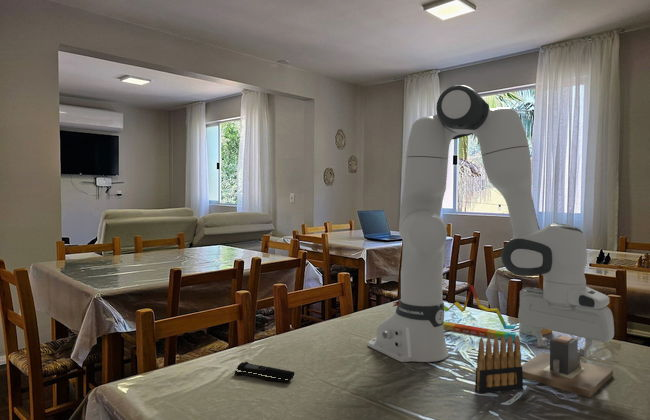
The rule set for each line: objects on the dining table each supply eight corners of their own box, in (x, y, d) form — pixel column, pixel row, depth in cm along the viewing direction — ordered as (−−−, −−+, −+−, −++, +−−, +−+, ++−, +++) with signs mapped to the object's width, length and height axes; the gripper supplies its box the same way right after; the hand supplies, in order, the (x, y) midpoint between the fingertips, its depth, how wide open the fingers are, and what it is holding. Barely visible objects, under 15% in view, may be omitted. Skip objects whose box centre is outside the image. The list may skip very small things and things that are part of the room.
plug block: (549, 370, 104) (550, 339, 104) (559, 363, 108) (559, 334, 108) (568, 375, 101) (568, 343, 101) (577, 367, 105) (577, 338, 105)
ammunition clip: (518, 385, 100) (518, 333, 99) (523, 389, 98) (523, 335, 98) (474, 390, 98) (475, 336, 97) (479, 393, 96) (479, 339, 96)
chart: (415, 325, 146) (415, 280, 146) (419, 322, 149) (419, 278, 148) (513, 342, 129) (513, 291, 128) (515, 339, 131) (516, 289, 131)
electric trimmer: (289, 388, 101) (289, 374, 101) (233, 376, 107) (233, 363, 107) (297, 382, 104) (297, 368, 104) (242, 370, 110) (242, 358, 110)
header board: (515, 375, 105) (515, 354, 105) (542, 357, 116) (542, 339, 116) (589, 397, 94) (590, 374, 93) (612, 376, 104) (613, 355, 104)
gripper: (514, 287, 110) (513, 342, 110) (608, 303, 94) (606, 366, 95) (525, 283, 114) (524, 336, 114) (617, 298, 99) (615, 359, 99)
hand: (562, 350), depth 105 cm, fingers open, 8 cm apart
